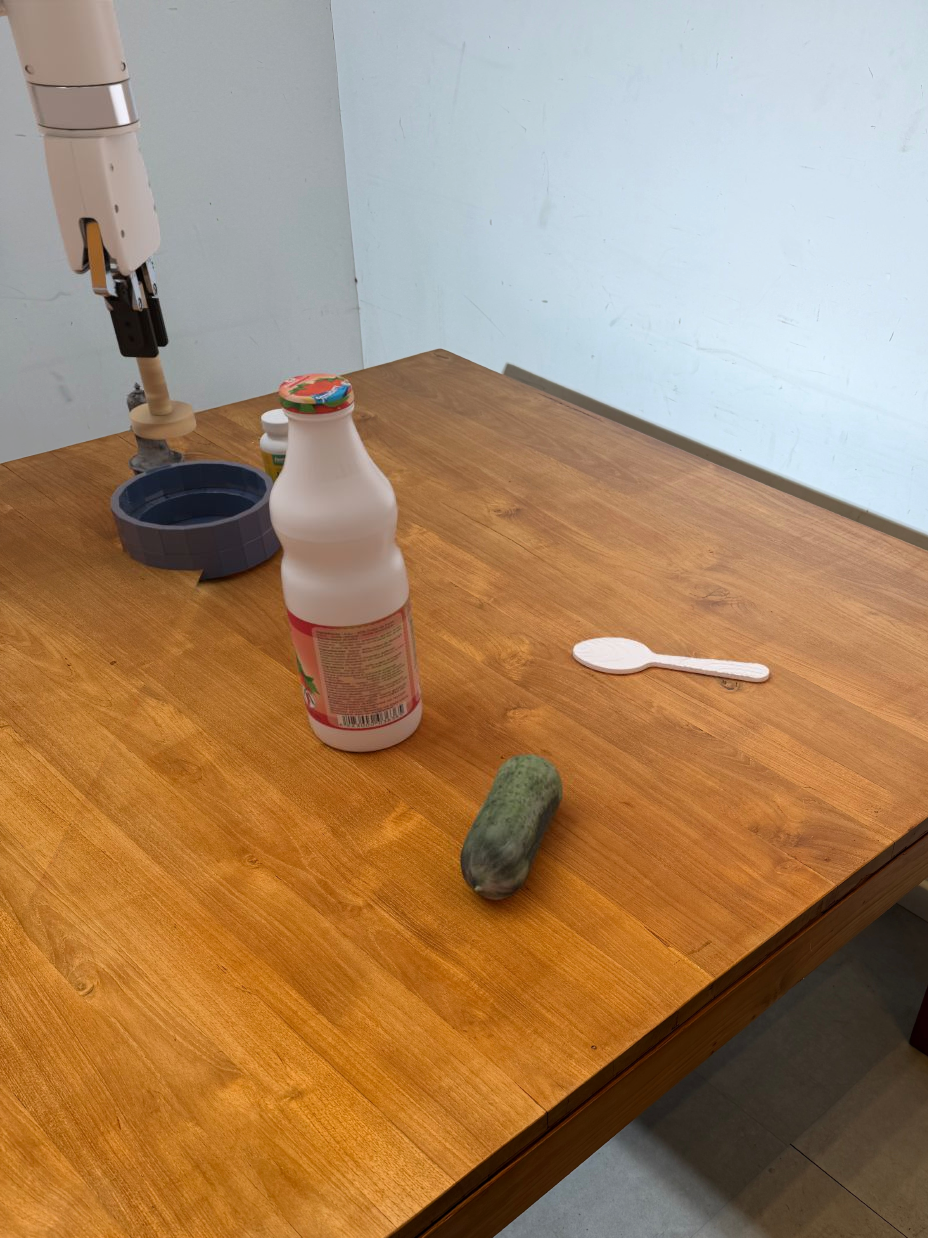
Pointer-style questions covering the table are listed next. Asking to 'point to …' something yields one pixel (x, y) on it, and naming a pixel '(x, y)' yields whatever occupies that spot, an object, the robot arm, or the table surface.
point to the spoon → (657, 660)
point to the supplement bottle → (274, 442)
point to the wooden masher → (159, 402)
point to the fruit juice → (343, 574)
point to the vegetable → (510, 826)
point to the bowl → (197, 517)
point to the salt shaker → (149, 443)
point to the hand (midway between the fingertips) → (145, 349)
